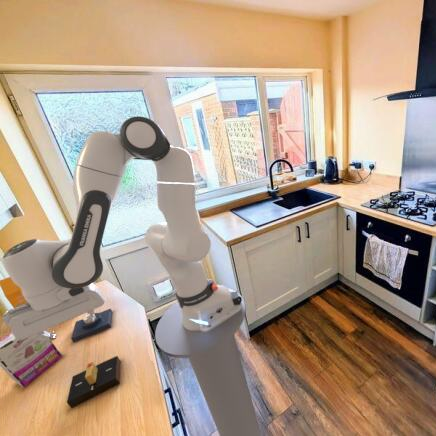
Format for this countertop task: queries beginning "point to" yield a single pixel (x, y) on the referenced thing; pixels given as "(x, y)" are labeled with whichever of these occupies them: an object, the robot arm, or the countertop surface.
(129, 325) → the countertop surface
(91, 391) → the plate
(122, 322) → the countertop surface
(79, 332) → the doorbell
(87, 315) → the bell button
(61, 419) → the countertop surface
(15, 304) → the orange juice
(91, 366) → the lock knob
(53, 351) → the candy bar box
